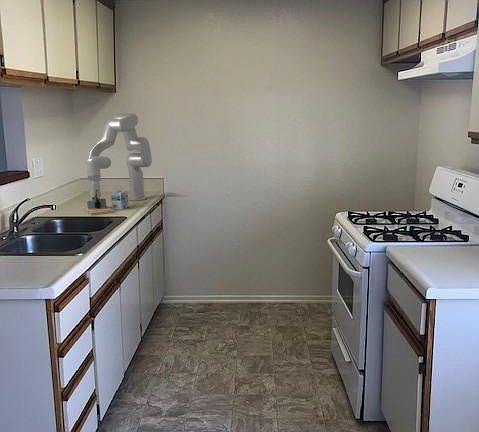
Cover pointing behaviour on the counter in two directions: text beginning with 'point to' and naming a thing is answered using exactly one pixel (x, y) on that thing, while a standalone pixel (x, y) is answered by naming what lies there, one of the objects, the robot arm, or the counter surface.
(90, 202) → the sanding block
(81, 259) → the counter surface
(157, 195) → the counter surface
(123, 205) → the light bulb box
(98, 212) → the oak board
